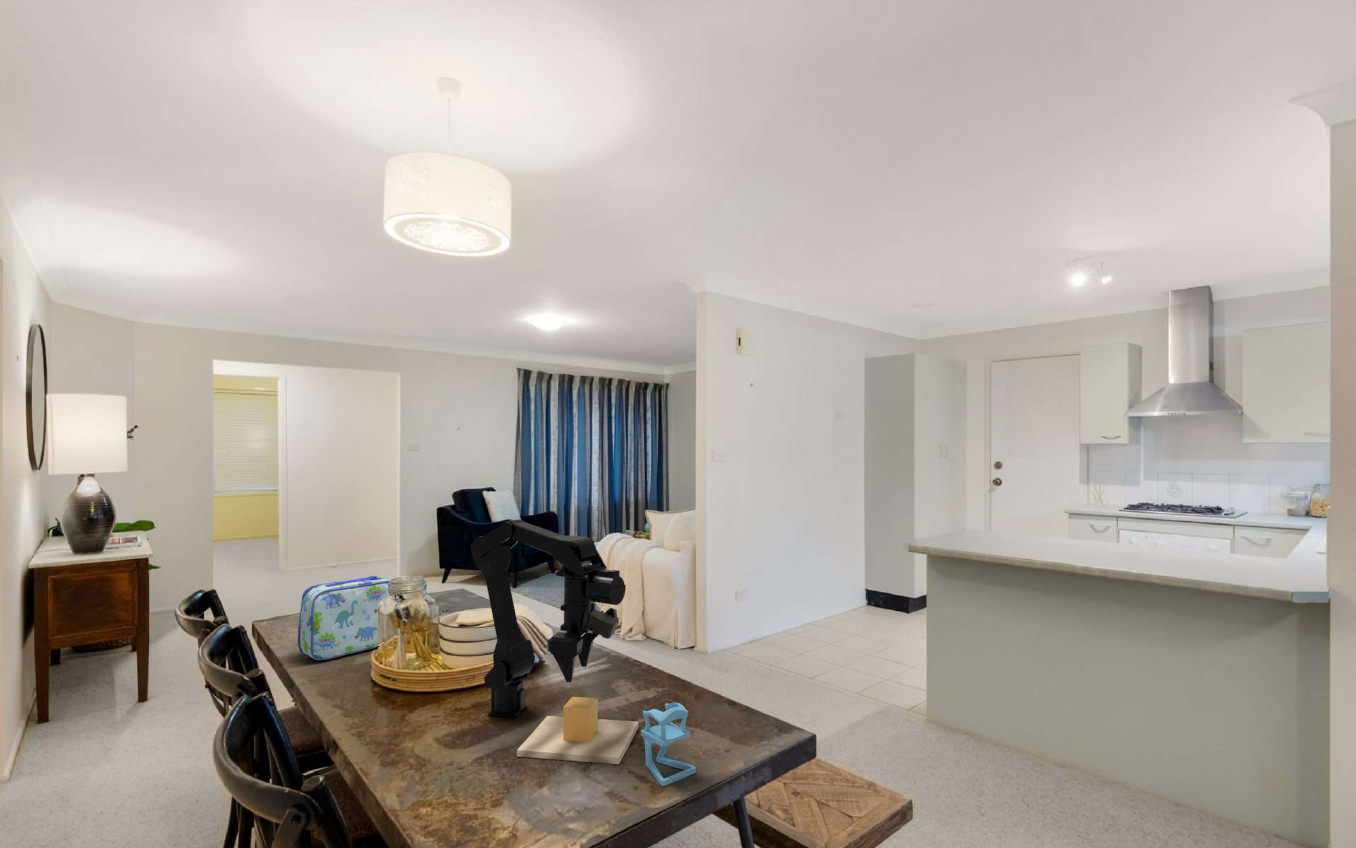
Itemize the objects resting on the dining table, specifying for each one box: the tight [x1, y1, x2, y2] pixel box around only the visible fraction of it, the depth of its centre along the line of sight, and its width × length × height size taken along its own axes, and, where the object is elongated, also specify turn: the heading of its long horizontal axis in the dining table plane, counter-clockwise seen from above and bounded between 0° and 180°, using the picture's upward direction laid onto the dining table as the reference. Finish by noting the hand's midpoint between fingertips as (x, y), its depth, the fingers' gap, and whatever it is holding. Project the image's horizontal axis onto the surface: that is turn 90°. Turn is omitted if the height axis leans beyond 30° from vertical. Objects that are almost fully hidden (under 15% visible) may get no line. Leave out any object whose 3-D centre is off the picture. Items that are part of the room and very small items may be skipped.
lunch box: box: [297, 575, 392, 661], centre depth 190 cm, size 26×11×21 cm, turn 141°
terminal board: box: [516, 715, 639, 765], centre depth 130 cm, size 20×16×5 cm
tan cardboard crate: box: [562, 696, 599, 742], centre depth 130 cm, size 5×5×6 cm
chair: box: [640, 702, 697, 787], centre depth 118 cm, size 8×8×12 cm
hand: (576, 674), depth 136 cm, fingers open, 9 cm apart
